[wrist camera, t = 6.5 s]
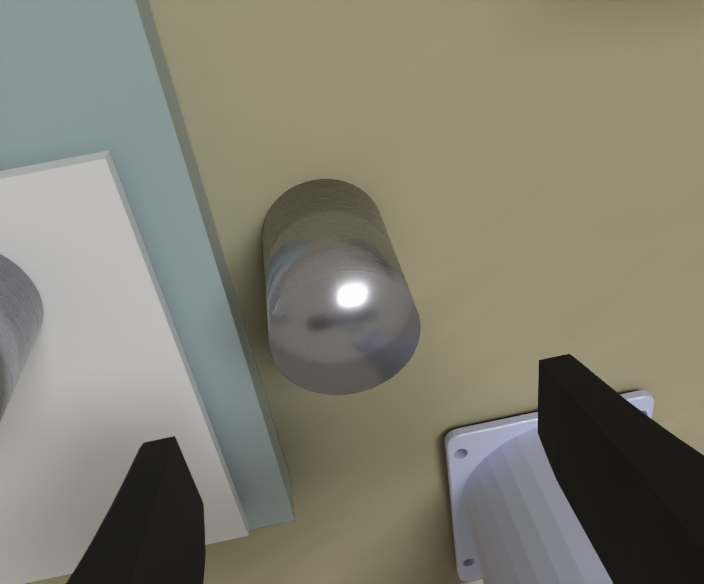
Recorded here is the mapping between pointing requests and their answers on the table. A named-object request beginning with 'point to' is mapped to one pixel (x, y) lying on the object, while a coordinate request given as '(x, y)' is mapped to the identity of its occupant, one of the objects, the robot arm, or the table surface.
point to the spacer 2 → (335, 290)
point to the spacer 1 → (16, 325)
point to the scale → (116, 292)
